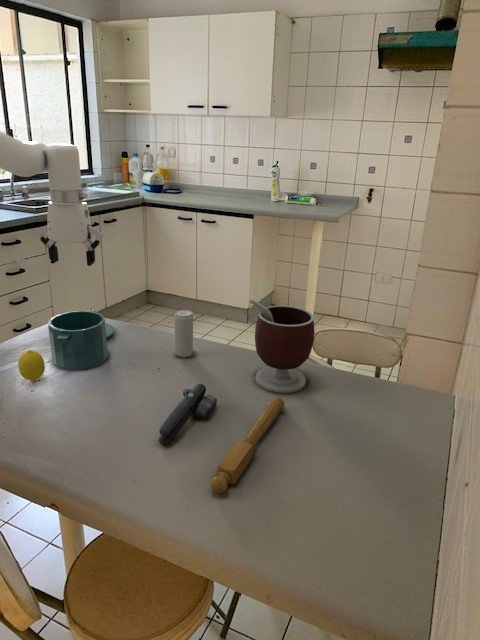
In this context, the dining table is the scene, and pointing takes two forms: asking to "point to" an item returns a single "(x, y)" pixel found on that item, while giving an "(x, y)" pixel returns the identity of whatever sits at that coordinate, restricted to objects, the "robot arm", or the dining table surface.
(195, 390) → the can opener
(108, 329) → the lid
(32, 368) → the lemon
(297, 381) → the mate gourd
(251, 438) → the tap handle
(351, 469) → the dining table surface
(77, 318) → the pot
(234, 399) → the dining table surface
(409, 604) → the dining table surface
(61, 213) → the robot arm
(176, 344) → the beverage can
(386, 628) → the dining table surface
